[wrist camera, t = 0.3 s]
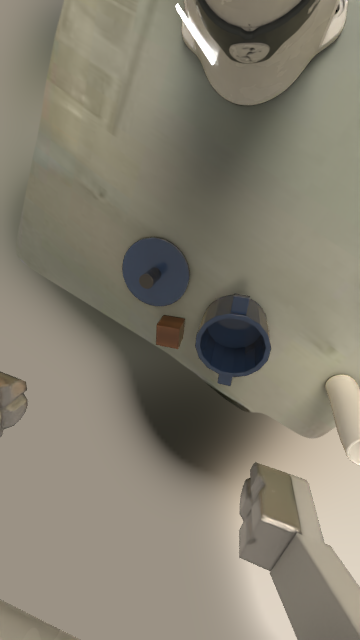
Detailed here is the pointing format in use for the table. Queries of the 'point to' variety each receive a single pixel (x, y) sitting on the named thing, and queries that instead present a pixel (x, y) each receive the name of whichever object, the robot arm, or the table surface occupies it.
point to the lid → (155, 271)
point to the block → (170, 331)
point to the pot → (233, 337)
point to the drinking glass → (346, 413)
